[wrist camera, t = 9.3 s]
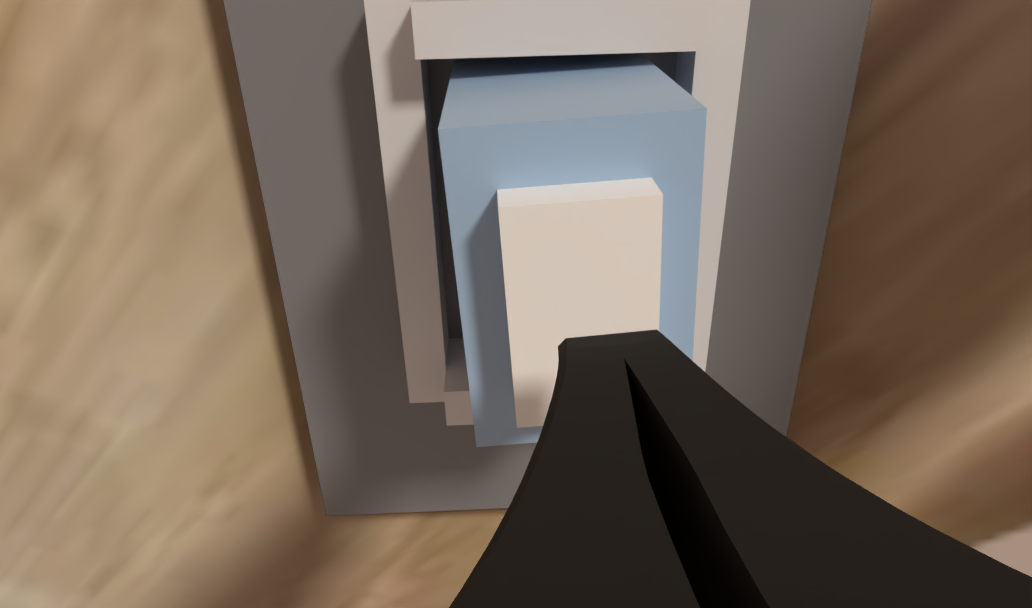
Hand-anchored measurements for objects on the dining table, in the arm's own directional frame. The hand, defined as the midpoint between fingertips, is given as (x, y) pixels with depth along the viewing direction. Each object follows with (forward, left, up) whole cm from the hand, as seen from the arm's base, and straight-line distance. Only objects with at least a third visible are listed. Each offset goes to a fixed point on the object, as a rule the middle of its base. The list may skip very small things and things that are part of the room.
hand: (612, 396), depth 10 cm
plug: (0, 0, -9) cm, 9 cm away
